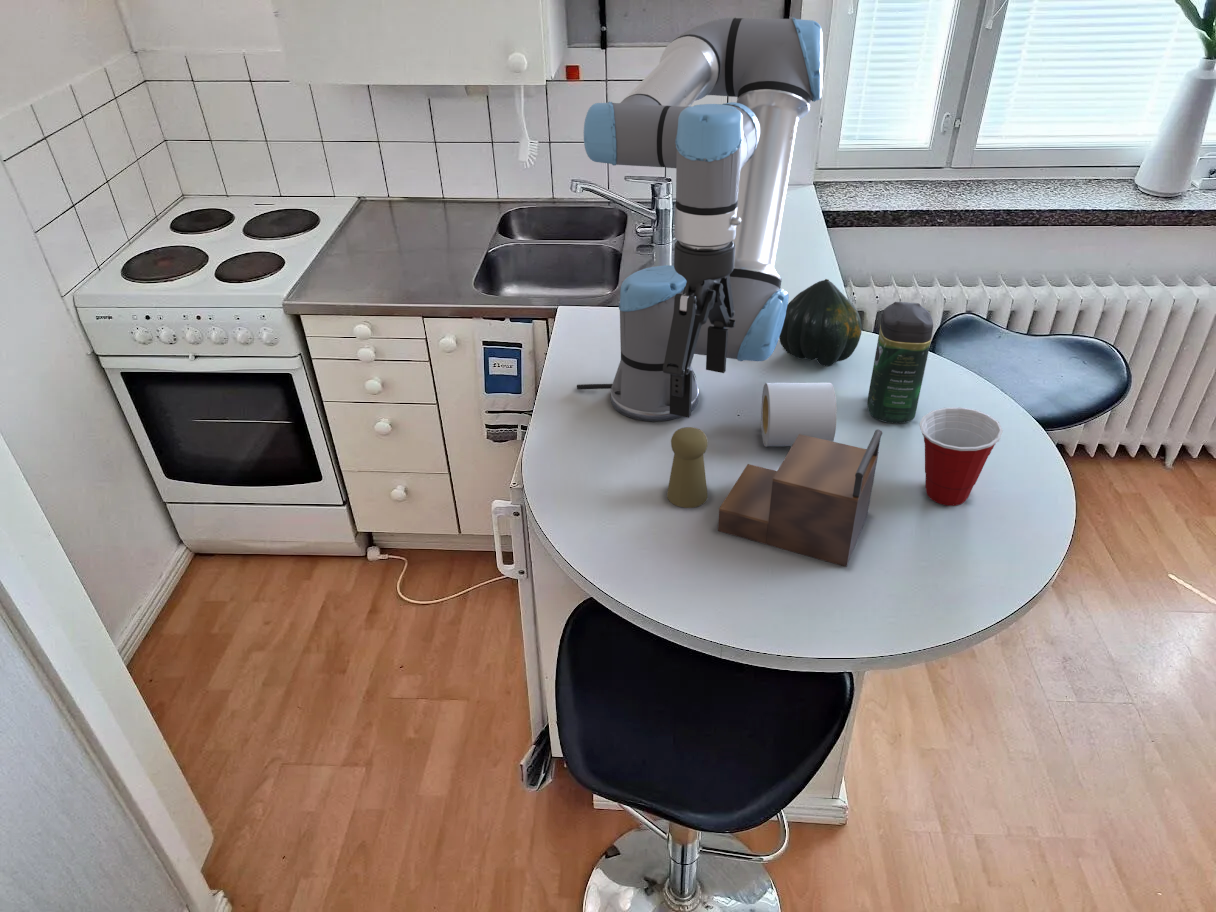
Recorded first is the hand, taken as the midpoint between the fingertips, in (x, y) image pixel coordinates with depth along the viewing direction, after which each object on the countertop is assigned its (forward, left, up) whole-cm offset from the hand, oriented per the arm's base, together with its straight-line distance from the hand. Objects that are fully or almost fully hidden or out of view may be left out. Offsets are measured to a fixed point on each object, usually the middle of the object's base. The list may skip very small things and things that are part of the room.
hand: (698, 391), depth 119 cm
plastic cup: (+33, +15, -18) cm, 40 cm away
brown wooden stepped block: (+15, -1, -17) cm, 23 cm away
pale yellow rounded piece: (-1, -1, -18) cm, 18 cm away
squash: (+4, +51, -18) cm, 54 cm away
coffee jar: (+21, +36, -18) cm, 46 cm away
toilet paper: (+9, +20, -18) cm, 28 cm away
